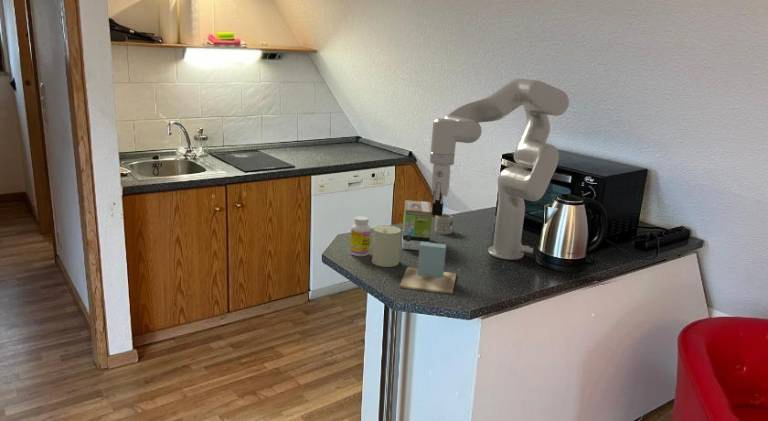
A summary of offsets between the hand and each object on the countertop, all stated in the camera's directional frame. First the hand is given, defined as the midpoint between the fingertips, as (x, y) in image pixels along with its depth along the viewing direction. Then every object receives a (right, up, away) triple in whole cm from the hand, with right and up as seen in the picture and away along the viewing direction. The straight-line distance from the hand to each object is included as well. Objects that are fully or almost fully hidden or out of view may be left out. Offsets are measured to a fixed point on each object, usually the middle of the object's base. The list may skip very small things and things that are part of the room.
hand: (437, 214), depth 191 cm
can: (-17, -16, +9) cm, 25 cm away
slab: (-2, -19, -2) cm, 19 cm away
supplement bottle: (-26, -14, +15) cm, 33 cm away
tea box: (-6, -11, +30) cm, 32 cm away
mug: (+6, -7, +47) cm, 48 cm away
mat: (-3, -21, -5) cm, 22 cm away
